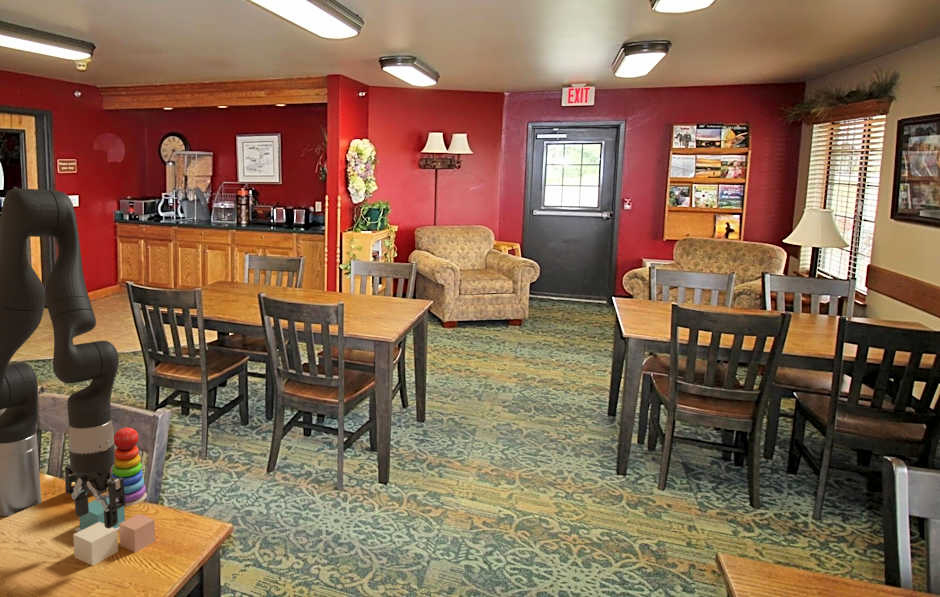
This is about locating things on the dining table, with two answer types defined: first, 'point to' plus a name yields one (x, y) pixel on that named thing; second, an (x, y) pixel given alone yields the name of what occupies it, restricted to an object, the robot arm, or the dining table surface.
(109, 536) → the cream brick
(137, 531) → the pink cube
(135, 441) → the stacking toy
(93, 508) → the teal base brick
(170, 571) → the dining table surface
